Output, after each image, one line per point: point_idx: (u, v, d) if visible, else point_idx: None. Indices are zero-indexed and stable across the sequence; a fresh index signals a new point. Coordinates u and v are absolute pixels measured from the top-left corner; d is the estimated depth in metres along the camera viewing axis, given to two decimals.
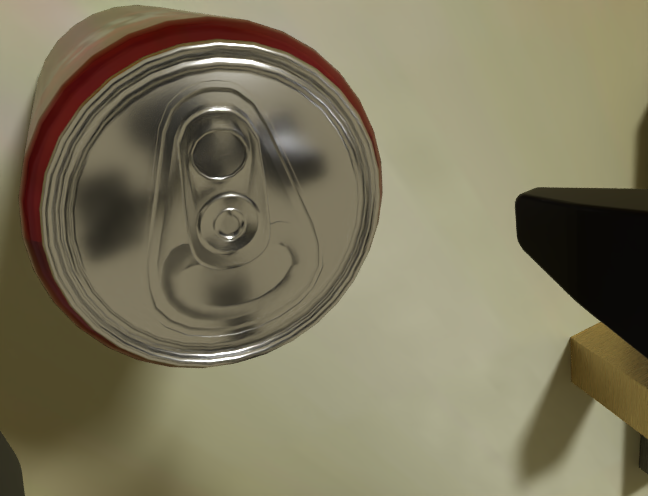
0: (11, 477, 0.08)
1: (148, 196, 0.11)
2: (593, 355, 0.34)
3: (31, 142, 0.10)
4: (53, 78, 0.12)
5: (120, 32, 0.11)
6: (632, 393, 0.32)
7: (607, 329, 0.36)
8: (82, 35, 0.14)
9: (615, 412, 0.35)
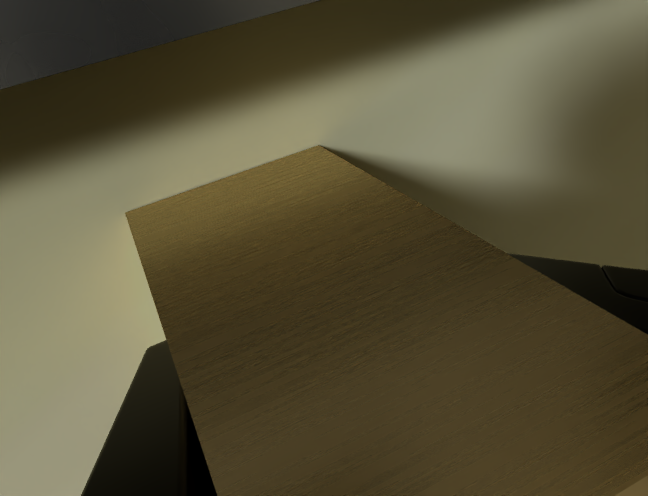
0: None
1: None
2: None
3: None
4: None
5: None
6: None
7: None
8: None
9: None
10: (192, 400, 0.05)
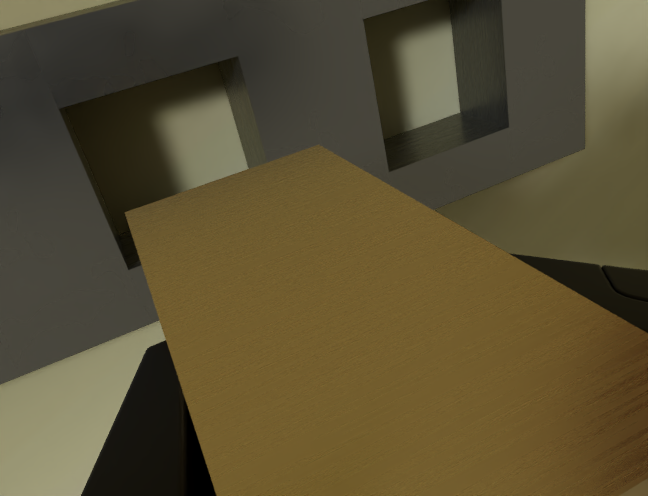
0: None
1: None
2: None
3: None
4: None
5: None
6: None
7: None
8: None
9: None
10: (191, 401, 0.05)
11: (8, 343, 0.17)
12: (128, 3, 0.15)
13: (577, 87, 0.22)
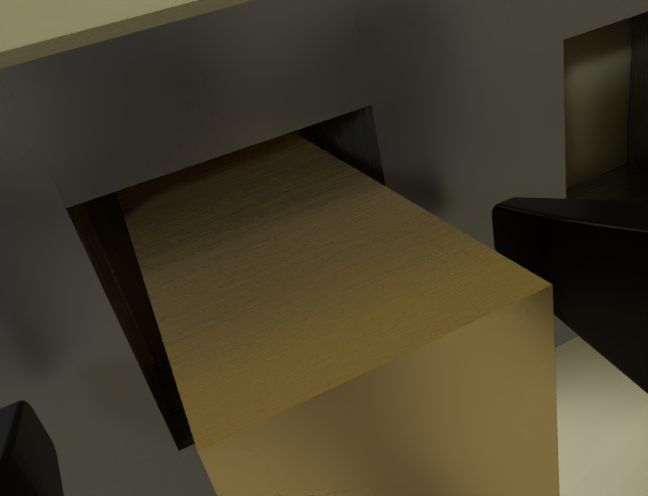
0: (49, 461, 0.08)
1: None
2: None
3: None
4: None
5: None
6: None
7: None
8: None
9: None
10: (155, 304, 0.07)
11: None
12: (194, 17, 0.08)
13: None
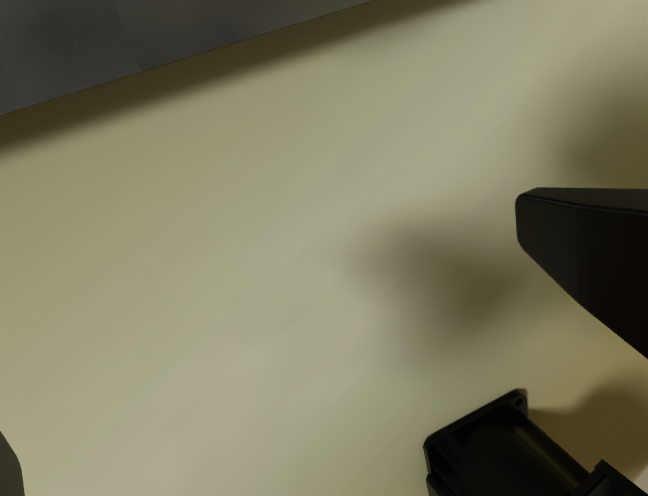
0: (11, 477, 0.08)
1: None
2: None
3: None
4: None
5: None
6: None
7: None
8: None
9: None
10: None
11: None
12: None
13: None
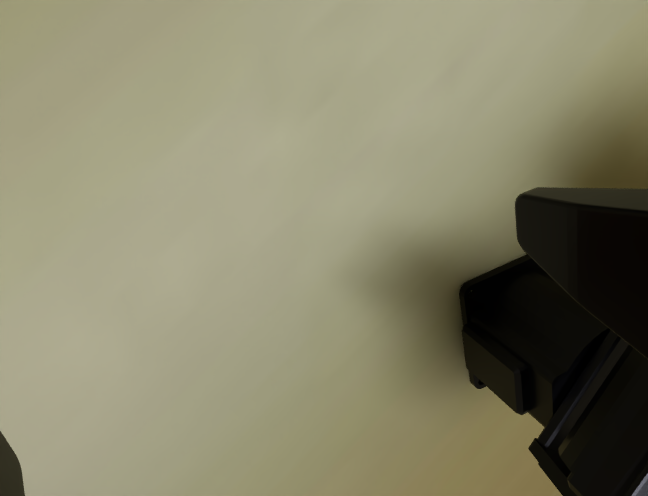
0: (11, 477, 0.08)
1: None
2: None
3: None
4: None
5: None
6: None
7: None
8: None
9: None
10: None
11: None
12: None
13: None
